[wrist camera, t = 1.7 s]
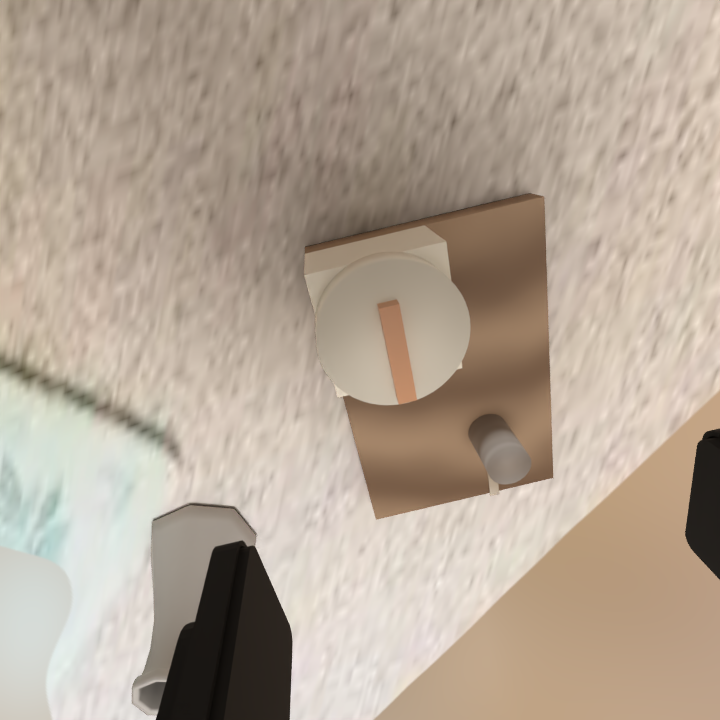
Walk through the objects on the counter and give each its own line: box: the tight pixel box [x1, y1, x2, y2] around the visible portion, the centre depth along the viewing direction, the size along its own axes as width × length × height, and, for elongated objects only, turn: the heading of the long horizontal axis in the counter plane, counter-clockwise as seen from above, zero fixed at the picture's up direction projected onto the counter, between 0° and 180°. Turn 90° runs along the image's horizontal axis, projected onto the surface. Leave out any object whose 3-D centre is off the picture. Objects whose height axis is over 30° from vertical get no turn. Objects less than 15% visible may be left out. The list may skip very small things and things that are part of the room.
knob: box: [304, 225, 471, 405], centre depth 21 cm, size 6×6×6 cm
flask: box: [132, 505, 256, 715], centre depth 27 cm, size 7×7×10 cm
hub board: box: [305, 193, 553, 519], centre depth 26 cm, size 18×12×5 cm, turn 12°
